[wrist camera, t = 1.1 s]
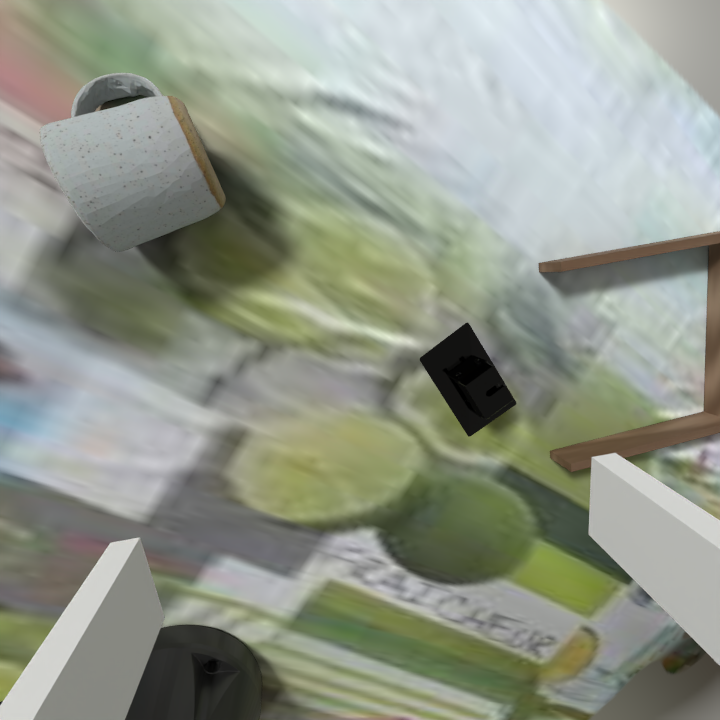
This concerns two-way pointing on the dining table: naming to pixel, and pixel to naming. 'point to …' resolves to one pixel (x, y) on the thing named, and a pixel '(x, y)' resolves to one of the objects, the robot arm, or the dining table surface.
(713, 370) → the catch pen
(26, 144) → the dining table surface
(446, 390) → the black wall mount bracket
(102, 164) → the ceramic mug
